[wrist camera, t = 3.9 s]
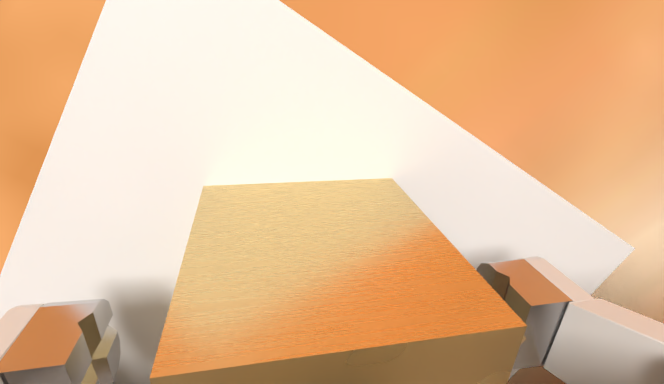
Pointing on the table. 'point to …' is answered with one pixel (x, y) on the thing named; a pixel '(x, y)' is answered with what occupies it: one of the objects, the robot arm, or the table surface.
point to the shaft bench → (251, 160)
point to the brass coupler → (329, 293)
